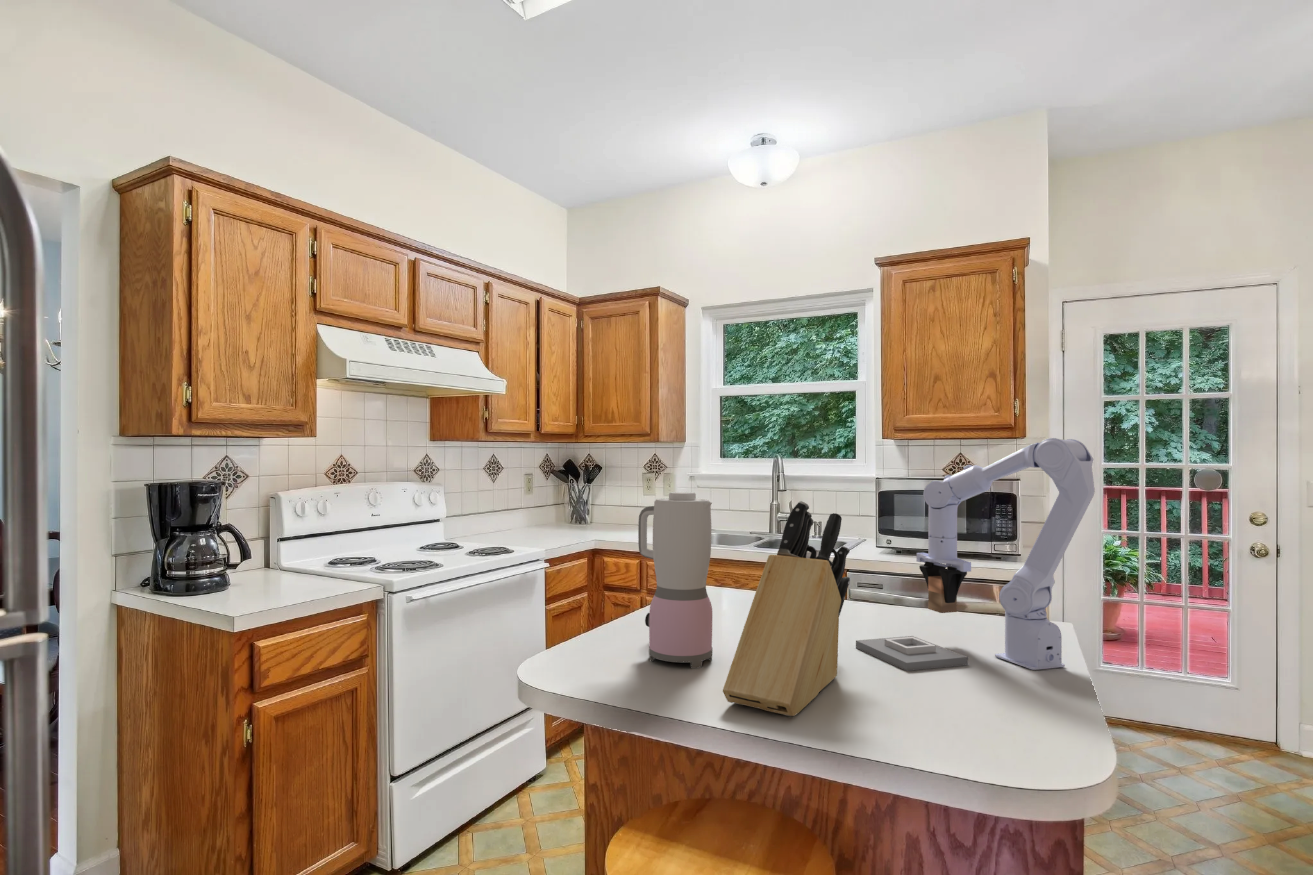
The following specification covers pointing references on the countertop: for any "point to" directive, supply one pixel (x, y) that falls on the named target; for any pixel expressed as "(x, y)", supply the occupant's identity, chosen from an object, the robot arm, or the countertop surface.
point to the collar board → (911, 653)
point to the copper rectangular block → (938, 596)
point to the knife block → (792, 622)
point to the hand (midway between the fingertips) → (942, 600)
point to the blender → (679, 578)
